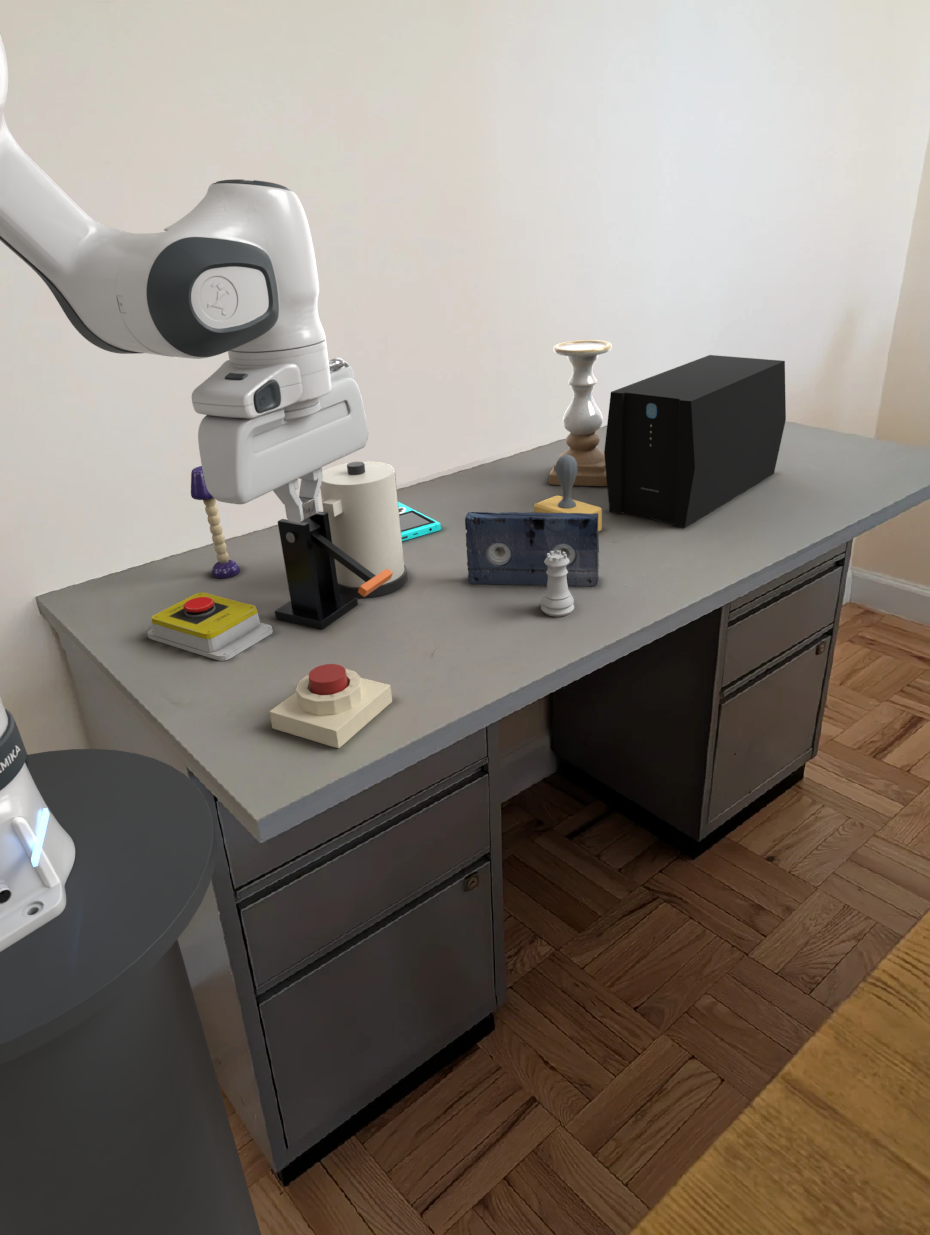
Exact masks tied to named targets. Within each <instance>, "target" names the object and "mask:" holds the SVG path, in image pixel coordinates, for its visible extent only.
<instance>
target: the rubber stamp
mask: <svg viewBox="0 0 930 1235" xmlns="http://www.w3.org/2000/svg"><path fill="white" fill-rule="evenodd" d="M557 459H558V458H557ZM557 459H556V461H557V462H556V461H555V462H556V474H557V478H558V480H559V483H560V485H559V486H560V487H561V490H562V495H554V496H551V497H549V498H546V499H544V500H541V501H538V502H536V503H534V504H533V513H586V514H594V513H598V532H600V531H602V529H603V509H602V508H601V507H600V506H597V505H594V504H590V503H587V502H583V501H579V500H577V499H573V498H572V495H571V494H572V490H573V486H574V485H573V484H574V481H575V478H576V475H577V462H576V460H575V459H574V457H572V456H570V455H563V456H561V457H560V458H559V459H558V460H557Z"/></svg>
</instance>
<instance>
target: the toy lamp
mask: <svg viewBox="0 0 930 1235" xmlns="http://www.w3.org/2000/svg"><path fill="white" fill-rule="evenodd" d="M190 497H191V498H192V499H193V500H195V501H197V500H198V501H202V502H203V505H204V506H205V507H204V510H205V513H206V515H207V522H208V524H209V531H210V534H211V541H212V543H213V544H214V547H213V548H214V552H215V553H216V561H217V562H215V564H214V565H213V566H212V568H211V576H212V577H213V578H216V579H227V578H231V577H234V576H236V575H238V574H239V573H240V572H241V568H240V566H239V564H238V563H237V562H236V561H234V560H232V559H230V556H229V555H230V554H229V553H228V552H227V551H228V547H227V544H226V543H225V542H226V540H225V534H223V532H224V531H223V526H222V524H221V517H220V515H219V507H218V506H217V504H216V502H217V500H216V499H215V498H214V497H213V496H212V495H211V494H210V493H209V492H208V490H207V487H206V484H205V479H204V474H203V469H202V465H200V466H196V467H194V468H193V469H191V473H190Z"/></svg>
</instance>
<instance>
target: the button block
mask: <svg viewBox="0 0 930 1235" xmlns="http://www.w3.org/2000/svg"><path fill="white" fill-rule="evenodd" d="M345 670H346V676H347V683H348V686H347V688H346V689H344V690H343V691H341V692H338V693H335V694H332V695H317V694H313V693H312V692H311V688H310V682H309V673H308V674H306V675H305V676H304V677H302V678H301V679H300V680H299V681H298V682H297V685H296V689H295V692H293V693H292V694H291V695H290V696H288V697H287V698H286V699H284V700H283V701H282V702H280V703H278V705H276V706H275V707H273V708H272V709H271V710H269V718H270V722H271V729H273V730H277V731H280V732H283V733H286V734H290V735H293V736H296V737H300V738H302V739H306V740H309V741H312V742H316V743H319V744H323V745H325V746H329V747H332V748H336V749H340V748H341V747H343V745H345V744H346V743H347V742H349V740H351V739H352V738H353V737H354V736H355V735H356V734H357V733H359V731H361V730H362V729H363V728H364V727H365V726H367V724H369V723H370V722H371V721H372V720H373V719H375V718H376V717H377V716H378V715H379V714H380V713H381V712H382V711H384V710H385V709H386V708H387V707H388V706H389V705H390V704H392V703H393V695H392V688H391V687H392V686H391V684H389V683H385V682H379V681H376V680H372V679H369V678H364V677H361V676H360V675H359V674H358V673H357V672H356V671H355V670H351V669H348V668H345Z"/></svg>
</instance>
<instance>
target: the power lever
mask: <svg viewBox="0 0 930 1235" xmlns="http://www.w3.org/2000/svg"><path fill="white" fill-rule="evenodd" d="M302 522H306V523H309V527H310V534H311V541H312V542H313V543H314V544H315V545H317V546H318V547H319V548H321V549H322V550H324V551H325V552H326V553H328V554H329V555H330V556H332V557H333V558H334V559H336V560H337V561H338V562H340V563H341V564H342V565H344V566H345V567H346V568H348V569H349V570H350V571H352V572H353V573H354V574H356V575H357V576H358V577H360V578H361V579H362V580H364V581H365V582H366V583H364V584H363V585H361V586H360V588H359V590H358V593H359V594H361V595H362V596H363V597H365V596H366V595H368V594H369V593H371V592H372V591H374V590H375V589H377V588H378V587H379V586H381V585H382V584H384V583H385V582H387V581H388V580H390V579H391V577H392V574H393V573H392V572H391V571H390V570H388V569H385V570H384V571H382V572H381V573H379V574H378V575H374V574H373V573H372V572H370V571H369V570H368V569H366V568H365V567H364V566H362V565H361V564H360V563H358V562H357V561H355V560H354V559H353V558H351V557H350V556H349V555H347V554H346V553H345V552H343V551H342V550H341V549H339V548H338V547H337V546H335V545H334V544H333V543H331V542H330V541H329V540H327V539H326V538H325V537H323V536H322V535H320V534H319V533H318V532H319V529H320V525H318V524H317V523H316V522H314V521H313V520H312V519H310V518H307V519H305V520H304V521H302Z"/></svg>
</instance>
